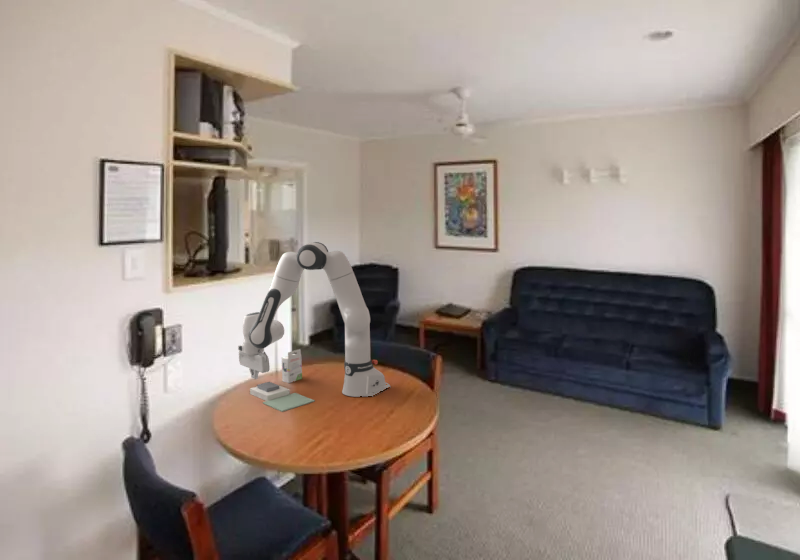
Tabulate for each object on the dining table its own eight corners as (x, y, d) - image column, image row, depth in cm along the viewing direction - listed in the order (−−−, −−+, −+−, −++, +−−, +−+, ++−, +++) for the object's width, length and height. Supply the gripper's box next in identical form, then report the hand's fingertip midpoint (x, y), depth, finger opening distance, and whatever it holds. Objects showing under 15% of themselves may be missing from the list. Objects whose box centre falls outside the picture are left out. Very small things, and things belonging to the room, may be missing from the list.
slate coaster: (269, 384, 221) (269, 381, 221) (279, 388, 216) (279, 385, 216) (257, 388, 217) (257, 384, 217) (267, 392, 211) (267, 388, 211)
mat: (295, 393, 217) (295, 392, 217) (314, 401, 207) (314, 400, 207) (262, 403, 205) (262, 402, 205) (281, 411, 195) (281, 410, 195)
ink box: (295, 376, 241) (294, 347, 239) (302, 378, 238) (301, 348, 237) (281, 381, 234) (280, 351, 232) (288, 383, 231) (287, 352, 230)
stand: (271, 387, 225) (271, 382, 224) (289, 395, 215) (289, 389, 215) (250, 393, 217) (249, 388, 216) (267, 401, 207) (267, 395, 207)
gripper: (272, 351, 217) (273, 381, 218) (248, 343, 231) (249, 372, 232) (260, 353, 212) (260, 384, 214) (235, 345, 226) (236, 375, 228)
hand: (254, 378), depth 223 cm, fingers closed
